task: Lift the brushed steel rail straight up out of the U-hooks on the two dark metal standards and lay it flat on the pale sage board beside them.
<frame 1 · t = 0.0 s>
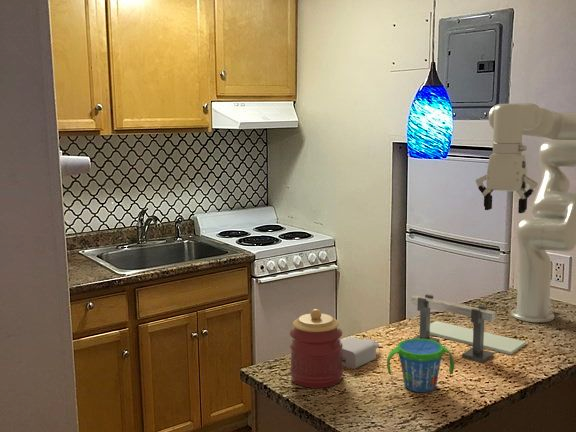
hand: (504, 211, 176), 37 cm above the counter, tool pointing down, fingers open, 9 cm apart
rail: (451, 311, 171), point 11 cm above the counter, touching standards
snack cup: (419, 387, 150), on the counter
canister: (316, 378, 156), on the counter
board: (470, 337, 182), on the counter
standards: (450, 349, 173), on the counter
charger: (359, 358, 169), on the counter
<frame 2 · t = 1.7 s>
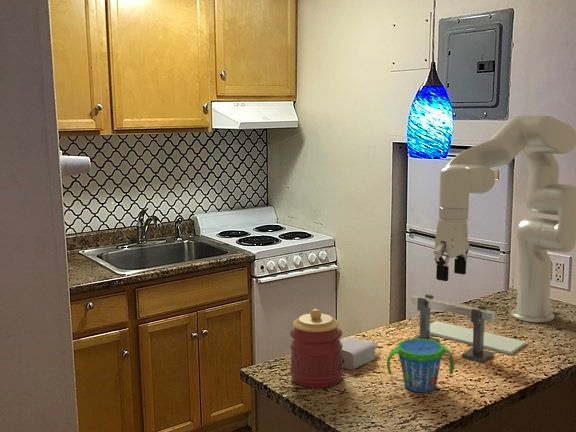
hand: (451, 276, 169), 21 cm above the counter, tool pointing down, fingers open, 9 cm apart
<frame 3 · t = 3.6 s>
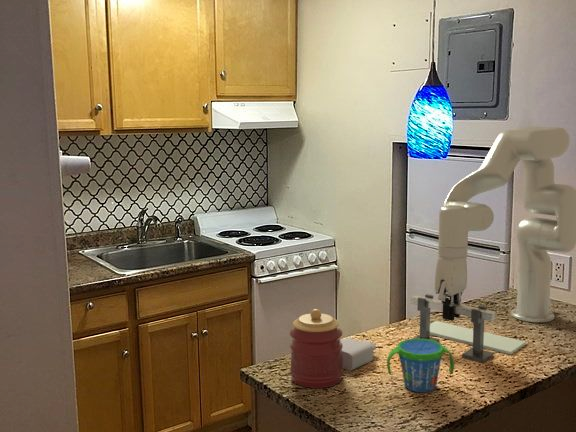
hand: (451, 317, 171), 9 cm above the counter, tool pointing down, fingers closed on rail, 2 cm apart
rail: (451, 311, 171), point 11 cm above the counter, touching gripper, standards
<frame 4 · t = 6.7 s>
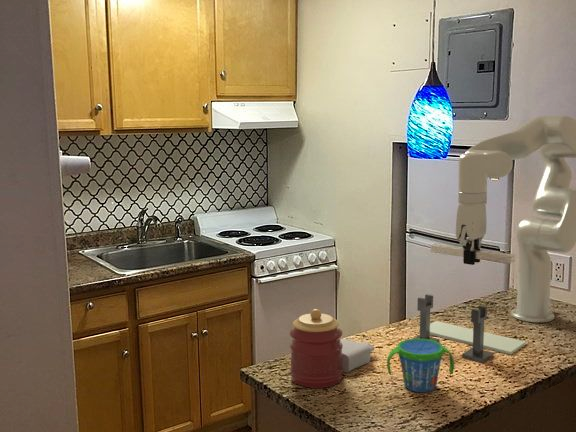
hand: (471, 262, 177), 23 cm above the counter, tool pointing down, fingers closed on rail, 2 cm apart
rail: (470, 256, 177), point 24 cm above the counter, touching gripper
charger: (353, 361, 167), on the counter
everything else where it was.
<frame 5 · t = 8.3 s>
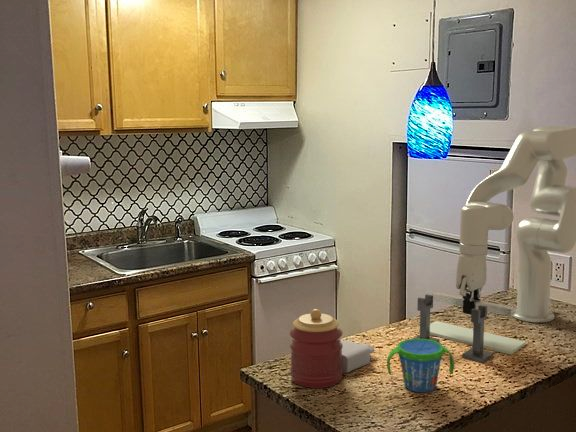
hand: (470, 312, 180), 8 cm above the counter, tool pointing down, fingers closed on rail, 2 cm apart
rail: (471, 306, 180), point 9 cm above the counter, touching gripper
when the fingers open (2 cm above the counter, at t = 9.9 s): rail drops 2 cm, resting on board.
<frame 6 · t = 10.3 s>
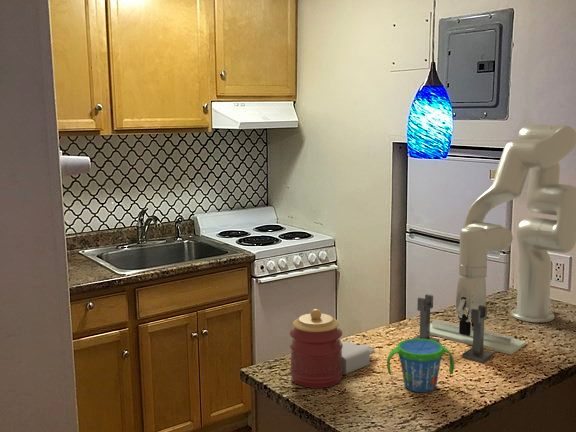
hand: (470, 330, 181), 2 cm above the counter, tool pointing down, fingers open, 6 cm apart
rail: (471, 335, 181), point 1 cm above the counter, touching board
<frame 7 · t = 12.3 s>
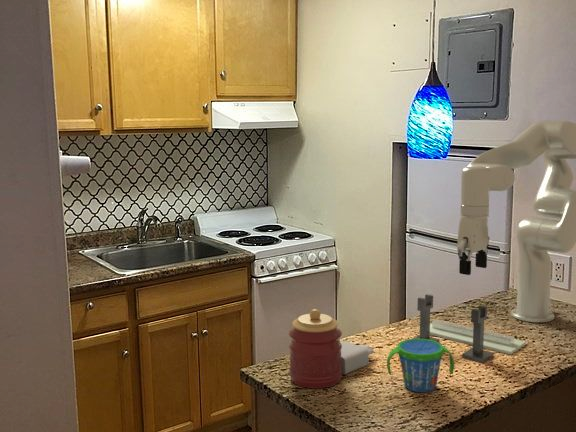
hand: (473, 270, 178), 20 cm above the counter, tool pointing down, fingers open, 9 cm apart
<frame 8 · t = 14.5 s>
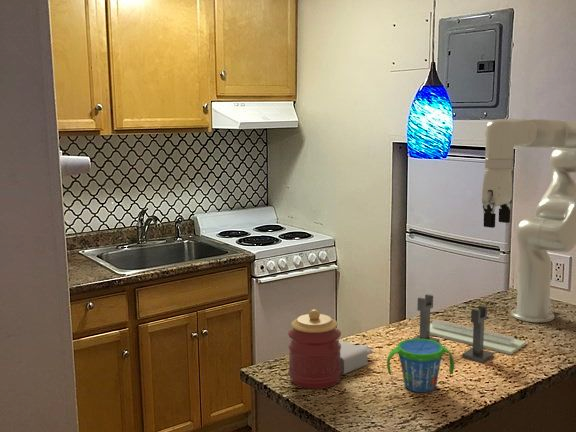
hand: (496, 224, 180), 32 cm above the counter, tool pointing down, fingers open, 9 cm apart
at the end: rail inside the target area (0.1 cm from its centre), point 0.8 cm above the counter; rail touching board; rail tilted 0° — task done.
